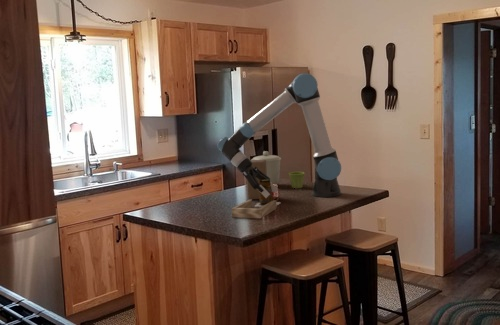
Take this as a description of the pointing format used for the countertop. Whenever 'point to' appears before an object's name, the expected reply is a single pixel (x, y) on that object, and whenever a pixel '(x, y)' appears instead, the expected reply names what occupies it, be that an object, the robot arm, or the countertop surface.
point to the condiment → (267, 186)
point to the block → (262, 167)
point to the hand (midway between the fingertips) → (272, 193)
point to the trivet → (261, 205)
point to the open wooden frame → (252, 210)
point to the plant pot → (296, 179)
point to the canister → (271, 166)
